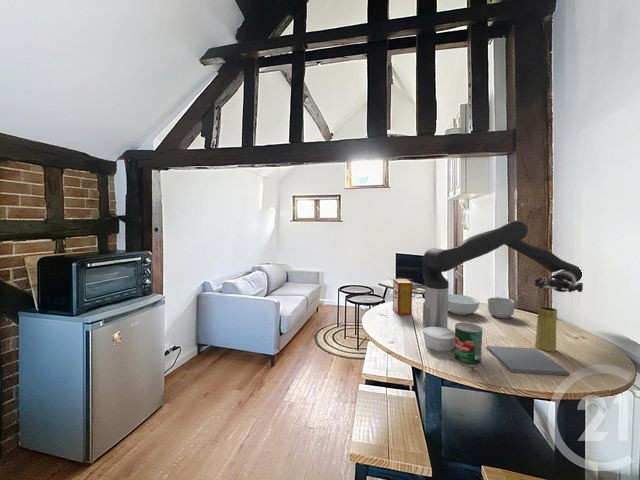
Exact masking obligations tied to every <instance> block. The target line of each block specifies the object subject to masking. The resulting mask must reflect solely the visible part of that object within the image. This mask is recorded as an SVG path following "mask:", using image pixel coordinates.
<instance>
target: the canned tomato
mask: <svg viewBox="0 0 640 480" xmlns="http://www.w3.org/2000/svg"><path fill="white" fill-rule="evenodd" d="M483 329H484V328H482V327H481V326H479V325H477V324H474V323H467V322H457V323H455V325H454V332H455V342H454V343H455V344H454V348H453V351H454V352H453V360H454V361H455V362H457V363H459V364H462V365H464V366H469V367H478V366H480V365H481V364H482V345H483Z"/></svg>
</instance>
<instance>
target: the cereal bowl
mask: <svg viewBox="0 0 640 480" xmlns="http://www.w3.org/2000/svg"><path fill="white" fill-rule="evenodd" d="M479 307H480V300H479V299H477V298H475V297H472V296H468V295H463V294H454V293H452V294H448V312H450V313H451V314H453V315H458V316H465V315H466V316H467V315H469V314H473V313H475V312H477V310H478V309H479Z"/></svg>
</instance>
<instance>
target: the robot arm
mask: <svg viewBox="0 0 640 480" xmlns="http://www.w3.org/2000/svg"><path fill="white" fill-rule="evenodd" d="M528 233H529V228H528V226H527V225H526V223H524V222H522V221H520V220H511V221H509V222H507V223H505V224H503V225H502V226H500V227H498V228H495V229H490V230H487V231H483V232H481V233H477V234H474V235H472V236H471V235H470V236H469V237H466V238H465V239H464V240H462V242H461V244H460V245H459V246H456V247H453V248H449V249H442V248H433V247H432V248H429V249H427V250H426V251H425V252H424V255H423V258H422V275H423V276H422V277H423V281H424V301H423V303H422V307H423V308H422V324H423V326H424V328H427V327H442V328H446V329H448V323H449V322H448V319H449V317H448V316H449V311H448V295H449V286H450V284H449V280H448V279H446V278H445V276H444V274H443V273H444V272H445V273H446V272H448V271H451V270H452V269H454V268H456V267H458V266H460V265H462V264H463V263H465V262H468V261H469V262H470V261H472V260H473V259H476V258H479V257H481V256H485V255H487V254H490V253H491V252H493V251H495V250H497V249H499V248H500V247H502V246H503V245H504V246H506V247H509V248H511V249H512V250H514V251H516V252H518V253H520V254H521V255H524V256H525V257H528V258H530V259H531V260H533V261H534V262H536V263H537V264H539V265H540V266H541V267H542V268H543V269H545V270H546V271H548V272H550V273H555V274H553V275H551V277H550V278H546V279H543V278H541V277H538V278H536V279H535V281H534V286H535V287H539V289H543V288H546V289H552V290H554V291H555V292H559V293H566V292H567V293H572V292H576V291H577V292H579V293H582V292H583V290H584V283H583V282H579V281H581V280H582V279H581V277H582V272H581V270H580V269H579V266H578V265H575V264H572V263H570V262H568V261H564V260H563V259H561V258H559V257H558V255H557V256H556V255H555V254H554V253H552V252H551V251H550V250H547V249H545V248H542V247H539V246H536V245H532V244H530V243H527V242H525V241H523V239H525V238H526V237H527V235H528ZM577 266H578V267H577ZM580 279H581V280H580Z"/></svg>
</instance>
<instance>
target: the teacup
mask: <svg viewBox="0 0 640 480" xmlns="http://www.w3.org/2000/svg"><path fill="white" fill-rule="evenodd" d="M486 301H487V309H488V312H489V314H491V315H492V317H494V316H495V317H494V318H498V319H499V318H500V319H509V318H510V317H512V316H513V315H514V314H515V301H514V300H513V299H510V298H506V297H500V296H496V297H489V298H487V300H486Z"/></svg>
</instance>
